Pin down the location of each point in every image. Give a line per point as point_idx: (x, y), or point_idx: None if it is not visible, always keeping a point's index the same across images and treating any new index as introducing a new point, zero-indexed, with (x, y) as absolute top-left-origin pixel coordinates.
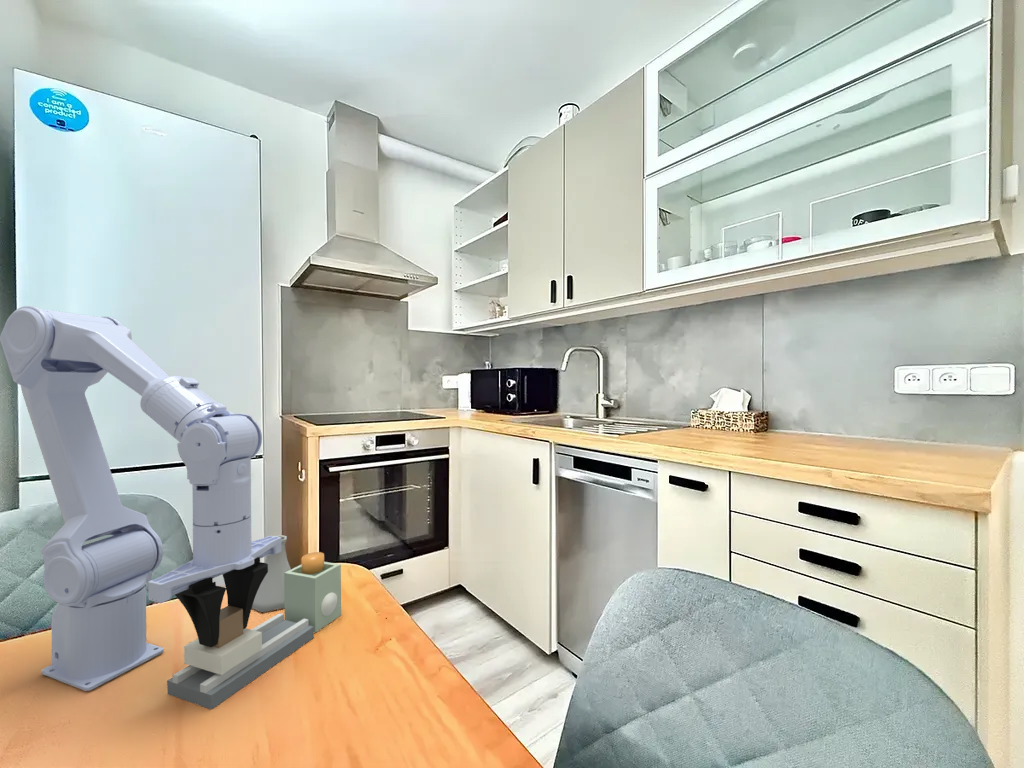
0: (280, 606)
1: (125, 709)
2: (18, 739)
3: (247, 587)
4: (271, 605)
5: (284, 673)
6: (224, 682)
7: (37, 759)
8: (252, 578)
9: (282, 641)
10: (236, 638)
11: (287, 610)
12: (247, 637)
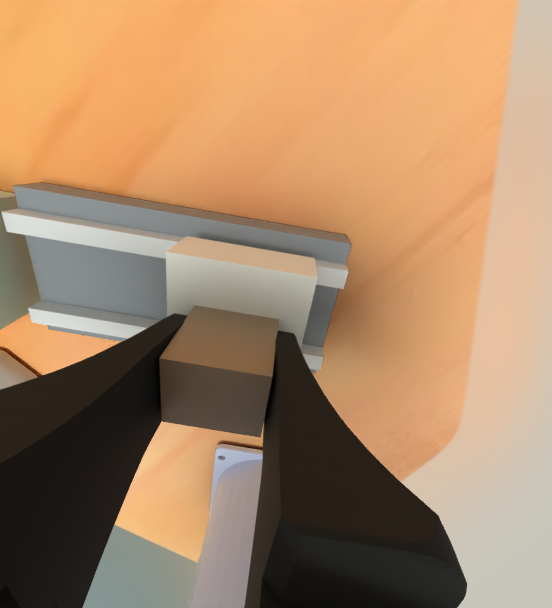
0: (4, 358)
1: (356, 386)
2: (422, 457)
3: (87, 422)
4: (16, 376)
5: (194, 150)
6: (302, 251)
7: (463, 408)
8: (18, 454)
9: (116, 225)
10: (221, 307)
11: (10, 311)
12: (206, 277)
